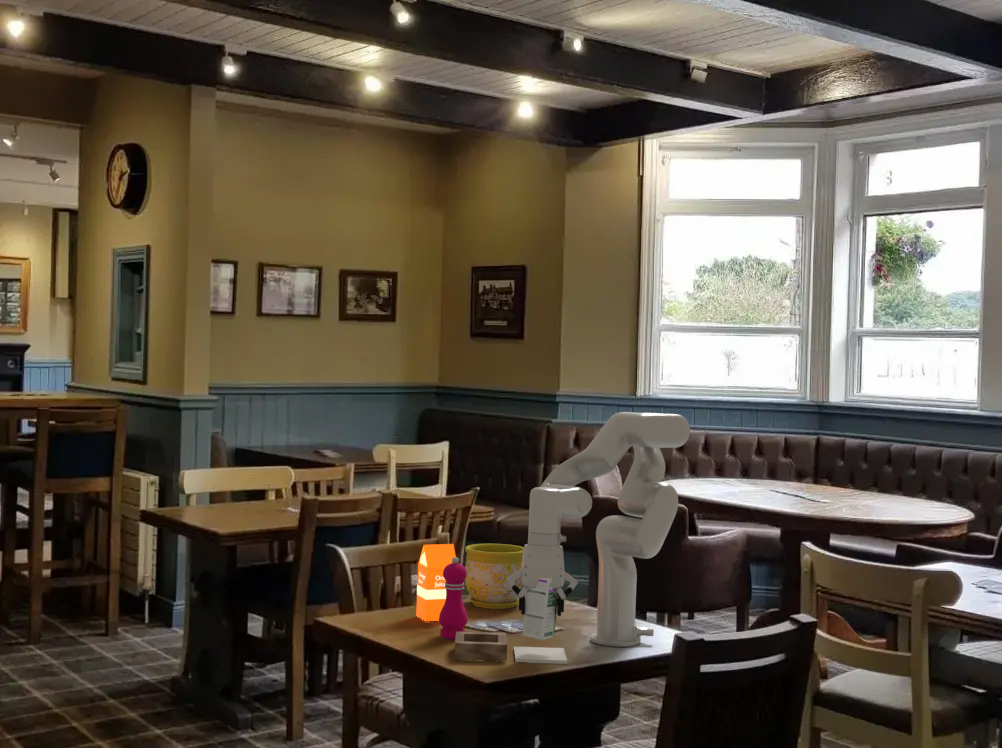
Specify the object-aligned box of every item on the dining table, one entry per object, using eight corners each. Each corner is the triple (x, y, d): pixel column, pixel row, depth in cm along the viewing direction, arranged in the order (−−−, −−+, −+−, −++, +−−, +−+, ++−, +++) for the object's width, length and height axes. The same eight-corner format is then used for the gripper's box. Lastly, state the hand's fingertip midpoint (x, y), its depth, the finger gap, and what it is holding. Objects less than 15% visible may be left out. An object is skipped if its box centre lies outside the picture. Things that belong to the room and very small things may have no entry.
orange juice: (415, 616, 305) (418, 542, 306) (446, 614, 309) (449, 541, 309) (425, 622, 298) (427, 546, 298) (456, 620, 302) (459, 546, 302)
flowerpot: (506, 614, 313) (508, 554, 313) (451, 605, 321) (453, 548, 321) (536, 603, 328) (538, 547, 328) (482, 596, 337) (484, 541, 337)
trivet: (563, 651, 271) (563, 648, 271) (567, 664, 259) (567, 660, 259) (513, 649, 271) (513, 646, 271) (515, 662, 259) (515, 658, 259)
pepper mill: (463, 641, 278) (466, 560, 278) (435, 638, 280) (437, 558, 280) (469, 634, 285) (472, 555, 286) (442, 632, 287) (445, 554, 287)
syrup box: (543, 640, 261) (550, 578, 261) (520, 635, 264) (528, 573, 264) (554, 637, 266) (561, 576, 266) (532, 632, 269) (539, 572, 269)
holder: (505, 649, 271) (506, 633, 271) (506, 662, 259) (507, 644, 259) (455, 648, 271) (456, 631, 271) (454, 660, 259) (455, 643, 259)
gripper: (579, 539, 269) (576, 612, 269) (506, 536, 269) (503, 609, 269) (582, 543, 262) (579, 619, 261) (507, 540, 261) (504, 616, 261)
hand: (540, 614), depth 265 cm, fingers closed on syrup box, 8 cm apart
